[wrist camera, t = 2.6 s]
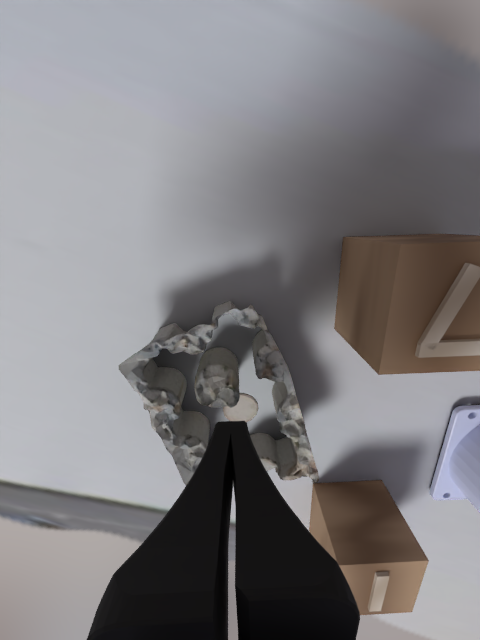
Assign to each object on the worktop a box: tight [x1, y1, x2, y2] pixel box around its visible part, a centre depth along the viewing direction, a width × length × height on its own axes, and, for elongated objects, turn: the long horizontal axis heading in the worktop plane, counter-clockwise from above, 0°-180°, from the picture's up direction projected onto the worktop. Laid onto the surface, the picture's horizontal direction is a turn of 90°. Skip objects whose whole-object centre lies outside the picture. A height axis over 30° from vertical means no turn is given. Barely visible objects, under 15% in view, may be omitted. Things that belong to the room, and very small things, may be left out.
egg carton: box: [119, 301, 319, 486], centre depth 15 cm, size 11×8×4 cm
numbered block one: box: [309, 480, 429, 615], centre depth 18 cm, size 5×5×5 cm
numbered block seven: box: [334, 234, 480, 375], centre depth 12 cm, size 5×5×5 cm
